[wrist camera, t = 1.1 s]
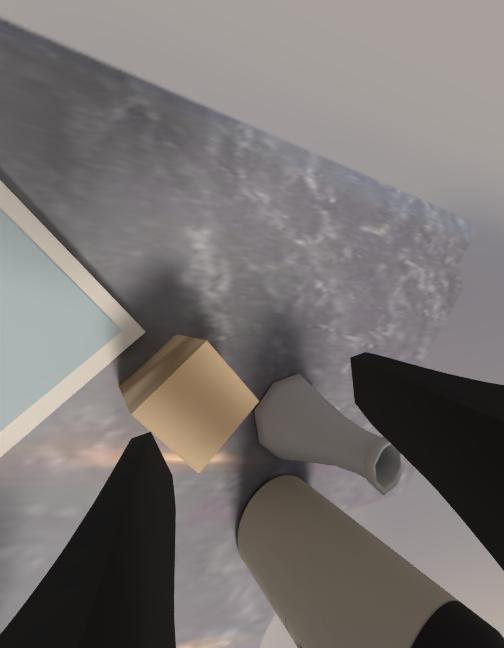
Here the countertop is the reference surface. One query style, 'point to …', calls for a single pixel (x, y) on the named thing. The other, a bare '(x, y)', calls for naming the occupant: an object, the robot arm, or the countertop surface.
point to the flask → (323, 434)
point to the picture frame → (48, 323)
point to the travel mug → (345, 579)
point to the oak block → (188, 399)
